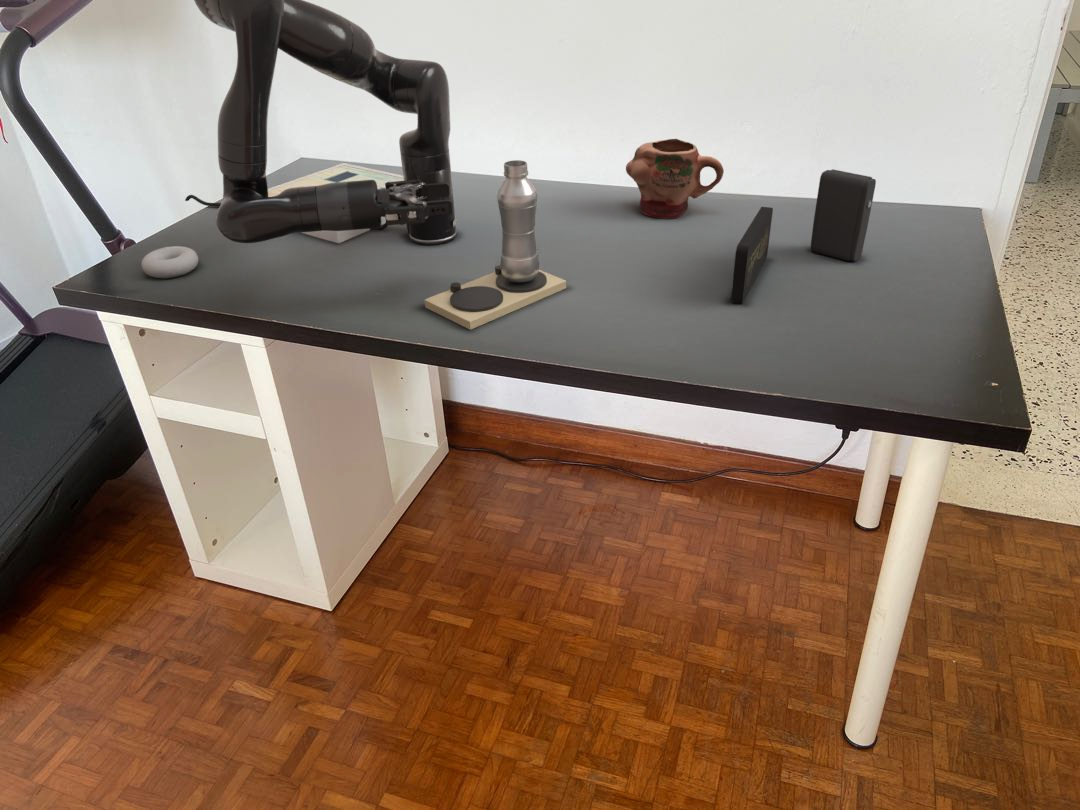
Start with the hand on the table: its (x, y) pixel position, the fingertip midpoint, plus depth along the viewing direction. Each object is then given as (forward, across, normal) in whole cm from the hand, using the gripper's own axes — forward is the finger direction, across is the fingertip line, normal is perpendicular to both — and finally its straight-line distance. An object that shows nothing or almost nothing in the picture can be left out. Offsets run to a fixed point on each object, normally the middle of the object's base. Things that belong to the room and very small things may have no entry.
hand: (450, 197), depth 136 cm
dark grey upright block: (+70, +3, +18) cm, 72 cm away
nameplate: (+50, -4, +18) cm, 54 cm away
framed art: (-22, +51, +18) cm, 58 cm away
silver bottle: (+11, 0, +15) cm, 19 cm away
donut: (-53, +22, +17) cm, 60 cm away
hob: (+6, -2, +17) cm, 19 cm away
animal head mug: (+47, +32, +18) cm, 59 cm away
